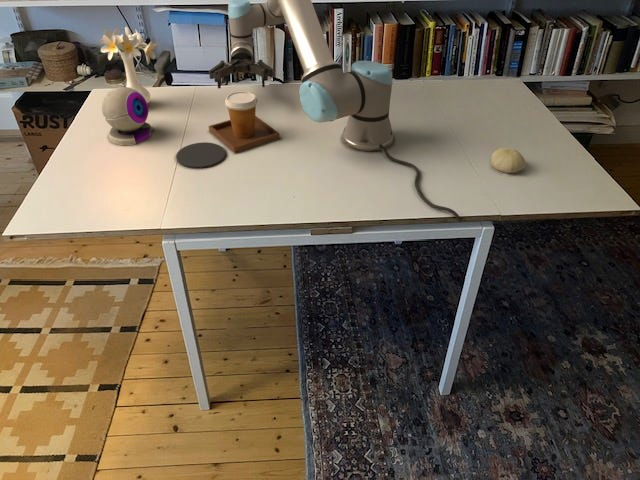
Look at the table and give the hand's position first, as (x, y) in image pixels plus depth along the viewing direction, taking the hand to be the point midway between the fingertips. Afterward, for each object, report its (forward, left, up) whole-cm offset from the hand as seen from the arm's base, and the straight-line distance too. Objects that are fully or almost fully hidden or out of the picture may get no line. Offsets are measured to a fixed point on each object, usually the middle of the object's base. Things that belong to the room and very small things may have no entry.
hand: (241, 83), depth 168 cm
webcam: (+12, +33, -13) cm, 37 cm away
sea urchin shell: (-67, -47, -13) cm, 83 cm away
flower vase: (+30, +23, -13) cm, 40 cm away
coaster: (-12, +21, -12) cm, 28 cm away
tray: (-8, +5, -12) cm, 16 cm away
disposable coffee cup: (-8, +5, -12) cm, 16 cm away
